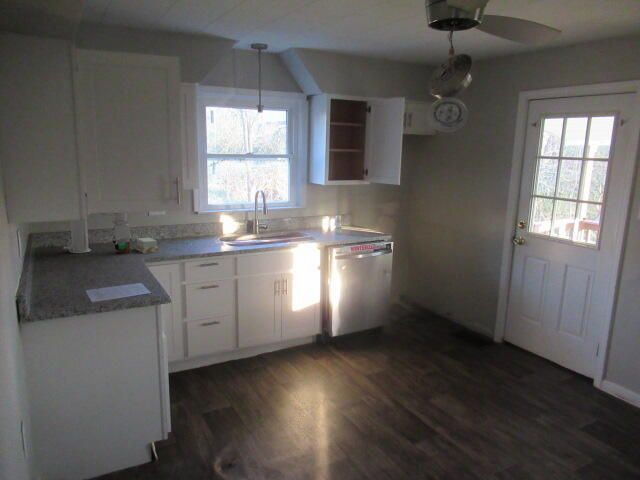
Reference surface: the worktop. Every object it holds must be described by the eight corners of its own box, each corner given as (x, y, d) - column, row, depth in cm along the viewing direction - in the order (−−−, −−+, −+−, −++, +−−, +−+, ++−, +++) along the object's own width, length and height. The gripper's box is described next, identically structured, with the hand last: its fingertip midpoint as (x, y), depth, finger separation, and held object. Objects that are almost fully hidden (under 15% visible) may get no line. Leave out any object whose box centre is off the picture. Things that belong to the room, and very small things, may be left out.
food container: (110, 252, 310) (110, 237, 308) (119, 250, 315) (118, 236, 313) (122, 255, 303) (122, 240, 302) (130, 253, 309) (130, 238, 307)
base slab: (143, 253, 312) (143, 248, 312) (135, 249, 322) (135, 244, 322) (158, 252, 319) (158, 246, 318) (150, 248, 329) (150, 243, 328)
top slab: (143, 247, 313) (143, 241, 312) (137, 244, 322) (137, 238, 322) (156, 246, 318) (156, 240, 317) (150, 243, 328) (150, 237, 327)
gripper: (109, 224, 297) (110, 251, 301) (136, 222, 309) (137, 249, 312) (105, 222, 303) (106, 249, 306) (132, 220, 314) (133, 247, 317)
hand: (122, 249), depth 309 cm, fingers closed on food container, 5 cm apart
